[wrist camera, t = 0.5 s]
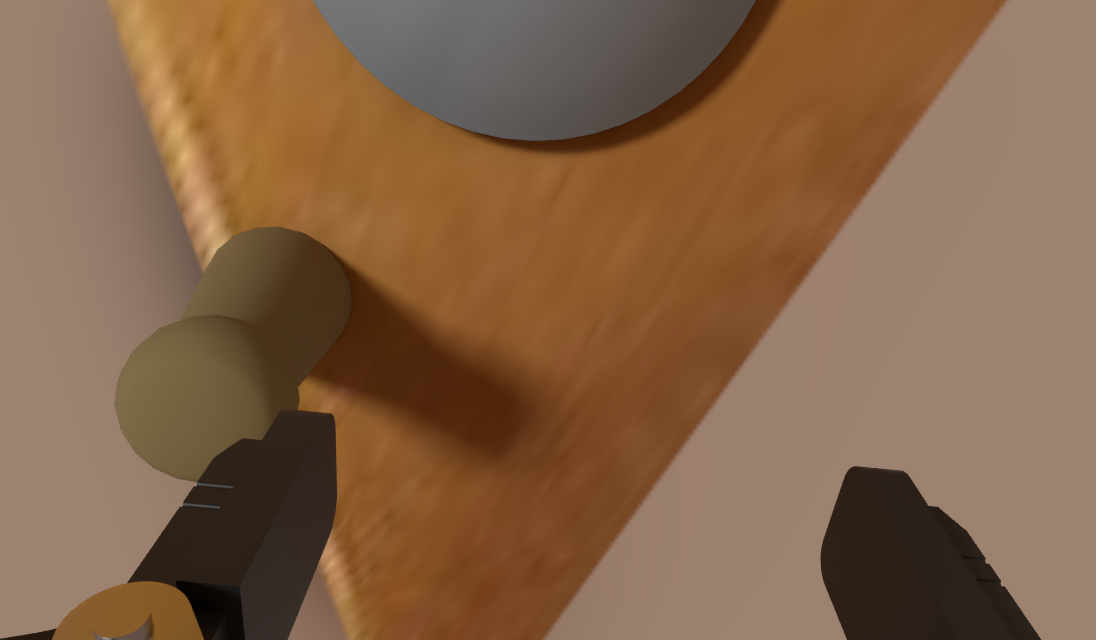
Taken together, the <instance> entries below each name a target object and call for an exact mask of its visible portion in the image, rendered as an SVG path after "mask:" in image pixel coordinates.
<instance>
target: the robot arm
mask: <svg viewBox="0 0 1096 640" xmlns="http://www.w3.org/2000/svg"><path fill="white" fill-rule="evenodd" d="M336 502H337V474H336V431H335V419H334V416H333V415H332V414H330V413H320V412H310V411H300V410H289V409H283V410H281V411H280V412H279V413H278V415H277V417H276V418H275V420H274V421H273V423H272V425H271V426H270V428H269V430H268V431H267V433H266V434H265V436H264V438H263V439H262V440H256V439H246V438H242V439H240V440H239V441H237V442H236V443H234V444H233V445H231V446H230V447H229V448H227V449H226V450H224V451H223V452H221V453H220V454H218V455H217V456H215V457H214V458H213V460H212V461H211V462H210V464H209V465H208V467H207V468H206V470H205V471H204V473H203V474H202V475H201V477H200V478H199V480H198V481H197V486H196V487H193V489H192V490H191V491H190V493H189V494H188V496H187V497H186V499H185V500H184V502H183V506H182V507H179V509H178V510H177V512H176V513H175V515H174V516H173V518H172V519H171V520H170V522H169V523H168V525H167V526H166V528H165V529H164V530H163V532H162V533H161V535H160V536H159V538H158V539H157V541H156V542H155V544H154V545H153V546H152V548H151V549H150V551H149V552H148V554H147V555H146V557H145V558H144V559H143V561H142V562H141V564H140V565H139V567H138V568H137V570H136V571H135V572H134V574H133V575H132V577H131V578H130V580H129V581H128V583H127V584H122V585H119V586H115V587H112V588H109V589H106V590H104V591H102V592H99V593H98V594H96V595H94V596H92V597H90V598H88V599H87V600H85V601H84V602H82V603H80V604H79V605H78V606H77V607H76V608H74V609H73V610H72V611H71V612H70V613H69V614H68V615H67V616H66V617H65V618H64V619H63V620H62V622H61V623H60V625H59V626H58V627H57V628H56V629H53V630H49V631H43V632H39V633H33V634H27V635H21V636H14V637H8V638H2V639H0V640H287V639H288V637H289V635H290V632H291V630H292V627H293V625H294V622H295V620H296V617H297V615H298V612H299V610H300V607H301V605H302V603H303V600H304V598H305V595H306V592H307V590H308V588H309V585H310V583H311V580H312V578H313V575H314V573H315V570H316V568H317V565H318V563H319V560H320V558H321V555H322V553H323V550H324V548H325V545H326V543H327V540H328V538H329V535H330V533H331V529H332V526H333V521H334V516H335V510H336ZM821 571H822V576H823V581H824V584H825V586H826V589H827V591H828V594H829V596H830V599H831V601H832V603H833V606H834V609H835V611H836V613H837V616H838V619H839V621H840V623H841V626H842V628H843V631H844V633H845V636H846V638H847V640H1041V639H1040V637H1039V636H1038V634H1037V633H1036V631H1035V630H1034V628H1033V627H1032V626H1031V624H1030V623H1029V621H1028V620H1027V618H1026V617H1025V616H1024V614H1023V613H1022V611H1021V609H1020V608H1019V607H1018V605H1017V604H1016V602H1015V601H1014V599H1013V598H1012V596H1011V595H1010V594H1009V592H1008V590H1007V589H1006V588H1005V587H1003V586H1001V584H1000V583H1001V580H1000V579H999V578H998V576H997V574H996V573H995V572H994V570H993V569H992V567H991V566H990V564H986V563H985V557H984V555H983V554H982V553H981V551H980V550H979V548H978V547H977V545H976V544H975V542H974V541H973V540H972V538H971V536H970V535H969V534H968V532H967V531H966V530H965V529H964V528H962V527H961V526H960V525H959V524H958V523H956V522H955V521H954V520H952V519H951V518H950V517H949V516H948V515H947V514H946V513H944V512H943V511H942V510H941V509H940V508H938V507H933V506H928V505H927V503H926V502H925V500H924V498H923V497H922V495H921V494H920V492H919V491H918V489H917V488H916V486H915V484H914V483H913V481H912V480H911V478H910V477H909V476H908V474H907V473H905V472H903V471H899V470H888V469H878V468H868V467H857V466H854V467H852V468H850V469H849V470H848V472H847V473H846V475H845V478H844V480H843V483H842V486H841V489H840V492H839V495H838V499H837V501H836V504H835V507H834V510H833V513H832V516H831V519H830V522H829V525H828V528H827V531H826V534H825V537H824V540H823V543H822V549H821Z"/></svg>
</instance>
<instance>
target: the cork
mask: <svg viewBox="0 0 1096 640" xmlns="http://www.w3.org/2000/svg"><path fill="white" fill-rule="evenodd" d="M351 306H352V298H351V290H350V282H349V280H348V278H347V276H346V274H345V272H344V270H343V268H342V266H341V264H340V262H339V261H338V260H337V259H336V258H335V257H334V255H333V254H332V253H331V252H330V251H329V250H328V249H327V248H326V247H325V246H324V245H323V244H321V243H319V242H318V241H316V240H314V239H312V238H311V237H309V236H307V235H306V234H304V233H301V232H297V231H293V230H289V229H285V228H281V227H270V228H255V229H252V230H249V231H247V232H244V233H241V234H238V235H236V236H234V237H232V238H231V239H230V240H229V241H228V242H226V243H225V244H224V245H223V246H222V247H220V248H219V249H218V250H217V251H216V253H215V255H214V257H213V258H212V260H211V262H210V264H209V265H208V267H207V269H206V271H205V273H204V275H203V277H202V279H201V281H200V283H199V284H198V286H197V288H196V290H195V292H194V294H193V296H192V298H191V300H190V302H189V304H188V306H187V308H186V310H185V312H184V314H183V316H182V317H181V319H180V321H178V322H175V323H172V324H169V325H167V326H164V327H161V328H159V329H158V330H157V331H155V332H154V333H153V334H152V335H151V336H149V337H148V338H147V339H146V340H144V341H143V342H142V343H141V344H140V345H139V346H138V347H137V348H136V349H134V350H133V351H132V353H131V355H130V357H129V358H128V360H127V362H126V364H125V366H124V367H123V369H122V371H121V373H120V376H119V379H118V382H117V389H116V397H115V409H116V412H117V417H118V420H119V424H120V428H121V430H122V433H123V435H124V436H125V438H126V439H127V441H128V442H129V444H130V445H131V447H132V448H133V450H134V451H135V453H136V454H137V455H139V456H140V457H141V458H142V459H144V460H145V461H146V462H147V463H148V464H149V465H151V466H152V467H153V468H155V469H157V470H159V471H161V472H163V473H165V474H168V475H170V476H172V477H174V478H177V479H183V480H188V481H194V482H197V481H198V480H199V478H200V477H201V475H202V474H203V473H204V471H205V470H206V468H207V467H208V465H209V464H210V462H211V461H212V460H213V458H214V457H215V456H217V455H218V454H220V453H221V452H223V451H224V450H226V449H227V448H229V447H230V446H231V445H233V444H234V443H236V442H237V441H239V440H240V439H242V438H246V439H256V440H262V439H263V438H264V436H265V434H266V433H267V431H268V430H269V428H270V426H271V425H272V423H273V421H274V420H275V418H276V417H277V415H278V413H279V412H280V411H281V410H283V409H289V410H298V405H299V392H298V387H299V385H300V384H301V383H302V382H303V381H304V379H305V378H306V377H307V376H308V374H309V373H310V372H311V371H312V370H313V368H314V367H315V366H316V365H317V364H318V362H319V361H320V360H321V359H322V357H323V356H324V355H325V354H326V353H327V351H328V350H329V349H330V348H331V347H332V345H333V344H334V343H335V342H336V341H337V339H338V337H339V336H340V334H341V333H342V331H343V330H344V328H345V327H346V325H347V323H348V319H349V315H350V311H351Z"/></svg>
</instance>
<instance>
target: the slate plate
mask: <svg viewBox="0 0 1096 640" xmlns="http://www.w3.org/2000/svg"><path fill="white" fill-rule="evenodd" d="M755 1H756V0H314V2H315V4H316V6H317V8H318V9H319V11H320V12H321V14H322V15H323V17H324V18H325V19H326V21H327V22H328V24H329V25H330V27H331V28H332V30H333V31H334V33H335V34H336V35H337V37H338V38H339V39H340V41H341V42H342V43H343V44H344V45H345V46H346V47H347V48H348V50H349V51H350V52H351V53H352V54H353V55H354V56H355V58H356V59H357V60H358V61H359V62H360V63H361V64H362V65H363V66H364V67H365V68H366V69H367V70H368V71H370V72H371V73H372V74H373V75H374V76H375V77H376V78H377V79H379V80H380V81H381V82H382V83H383V84H384V85H385V86H386V87H388V88H389V89H391V90H392V91H393V92H395V93H396V94H398V95H399V96H401V97H402V98H404V99H405V100H406V101H408V102H409V103H411V104H412V105H414V106H415V107H417V108H419V109H421V110H423V111H425V112H427V113H429V114H431V115H433V116H435V117H437V118H439V119H440V120H442V121H445V122H448V123H450V124H453V125H456V126H459V127H461V128H464V129H467V130H470V131H472V132H477V133H481V134H486V135H490V136H495V137H499V138H506V139H517V140H529V141H541V140H562V139H568V138H574V137H579V136H585V135H590V134H594V133H598V132H601V131H604V130H607V129H610V128H613V127H616V126H619V125H622V124H624V123H626V122H628V121H631V120H633V119H635V118H637V117H639V116H641V115H643V114H645V113H647V112H650V111H651V110H653V109H654V108H656V107H657V106H659V105H660V104H662V103H664V102H665V101H667V100H668V99H670V98H671V97H673V96H674V95H676V94H677V93H678V92H680V91H681V90H682V89H683V88H684V87H686V86H687V85H688V84H689V83H690V82H692V81H693V80H694V79H695V78H696V77H698V76H699V75H700V74H701V73H702V72H703V71H704V70H705V69H706V68H707V67H708V65H709V64H710V63H711V62H712V61H713V60H714V59H715V58H716V57H717V56H718V55H719V54H720V53H721V52H722V51H723V49H724V48H725V47H726V45H727V44H728V43H729V41H730V40H731V38H732V37H733V36H734V34H735V33H736V32H737V30H738V29H739V28H740V26H741V25H742V24H743V22H744V20H745V18H746V17H747V15H748V13H749V11H750V10H751V8H752V6H753V4H754V3H755Z"/></svg>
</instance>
